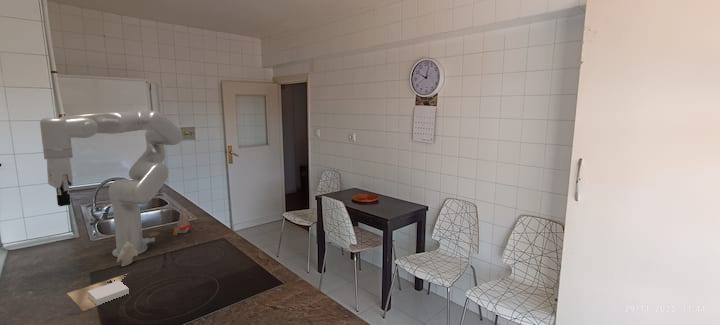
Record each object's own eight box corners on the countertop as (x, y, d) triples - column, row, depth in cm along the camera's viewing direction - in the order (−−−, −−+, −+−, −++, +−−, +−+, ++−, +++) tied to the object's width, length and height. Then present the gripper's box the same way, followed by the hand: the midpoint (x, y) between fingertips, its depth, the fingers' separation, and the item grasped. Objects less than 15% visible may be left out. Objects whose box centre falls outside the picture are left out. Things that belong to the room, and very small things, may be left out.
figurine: (182, 228, 179) (184, 206, 177) (193, 231, 177) (195, 209, 175) (168, 233, 170) (170, 210, 168) (180, 237, 168) (182, 213, 167)
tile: (119, 280, 120) (128, 288, 116) (119, 286, 121) (129, 294, 116) (87, 291, 113) (96, 299, 109) (88, 297, 114) (97, 305, 109)
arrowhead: (119, 270, 133) (117, 245, 131) (115, 269, 134) (113, 244, 132) (140, 262, 140) (138, 239, 138) (136, 261, 141) (134, 237, 140)
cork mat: (128, 274, 130) (128, 273, 130) (147, 288, 121) (147, 287, 121) (67, 294, 116) (67, 293, 116) (83, 312, 106) (83, 310, 106)
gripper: (38, 152, 122) (44, 203, 125) (50, 157, 113) (56, 211, 116) (65, 150, 128) (70, 199, 131) (78, 155, 119) (84, 206, 122)
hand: (64, 205), depth 123 cm, fingers closed
